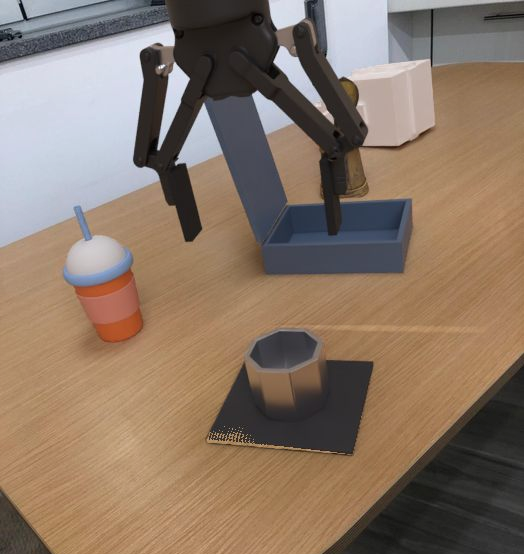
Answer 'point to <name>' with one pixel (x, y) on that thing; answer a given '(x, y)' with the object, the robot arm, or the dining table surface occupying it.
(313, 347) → the octagonal metal cup
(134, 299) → the cup with straw
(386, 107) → the blocky voxel creature
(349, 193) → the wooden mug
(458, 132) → the dining table surface
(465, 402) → the dining table surface
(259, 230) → the lid
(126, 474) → the dining table surface
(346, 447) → the mat
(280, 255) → the blue storage box
